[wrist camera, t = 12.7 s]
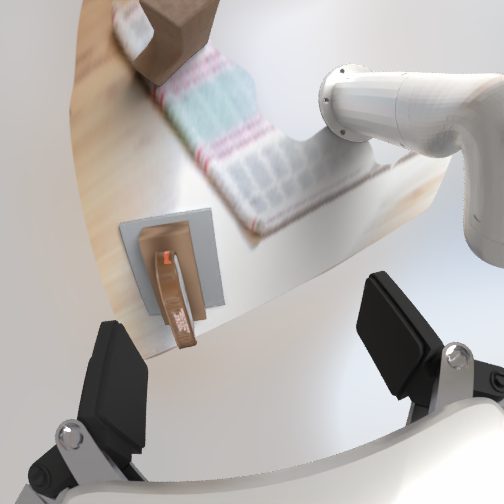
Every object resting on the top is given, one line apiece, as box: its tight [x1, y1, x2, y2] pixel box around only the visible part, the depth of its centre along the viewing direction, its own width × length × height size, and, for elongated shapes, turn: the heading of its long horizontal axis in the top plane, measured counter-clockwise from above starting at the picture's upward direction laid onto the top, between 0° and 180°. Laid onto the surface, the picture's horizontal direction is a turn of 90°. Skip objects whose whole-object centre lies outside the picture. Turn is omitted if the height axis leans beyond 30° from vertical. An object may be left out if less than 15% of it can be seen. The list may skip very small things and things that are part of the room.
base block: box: [138, 220, 206, 325], centre depth 42 cm, size 7×16×4 cm, turn 3°
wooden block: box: [132, 0, 220, 86], centre depth 20 cm, size 9×4×18 cm, turn 134°
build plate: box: [119, 208, 225, 316], centre depth 44 cm, size 14×18×1 cm
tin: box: [155, 250, 197, 349], centre depth 36 cm, size 15×3×8 cm, turn 3°
